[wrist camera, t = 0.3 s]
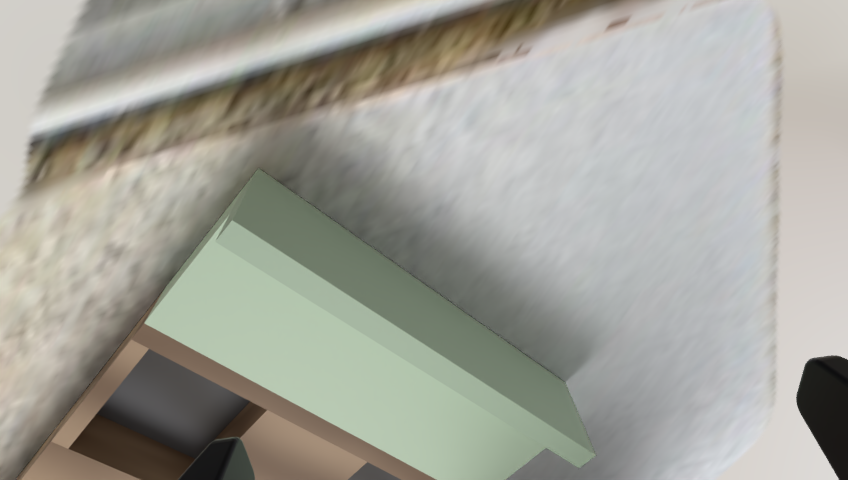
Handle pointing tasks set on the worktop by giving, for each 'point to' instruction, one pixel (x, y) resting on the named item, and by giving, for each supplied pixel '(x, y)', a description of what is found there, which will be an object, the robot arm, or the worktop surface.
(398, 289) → the pad
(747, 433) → the worktop surface
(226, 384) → the trap board
